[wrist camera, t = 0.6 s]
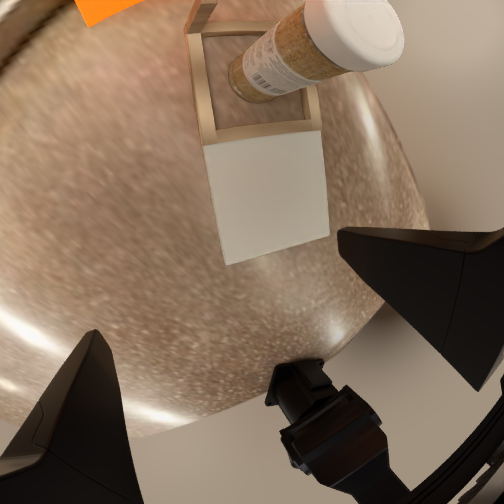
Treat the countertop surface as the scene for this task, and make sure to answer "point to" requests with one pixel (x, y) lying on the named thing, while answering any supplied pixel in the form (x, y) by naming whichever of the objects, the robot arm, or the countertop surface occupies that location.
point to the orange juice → (101, 9)
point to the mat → (267, 193)
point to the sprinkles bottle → (318, 47)
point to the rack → (200, 87)
